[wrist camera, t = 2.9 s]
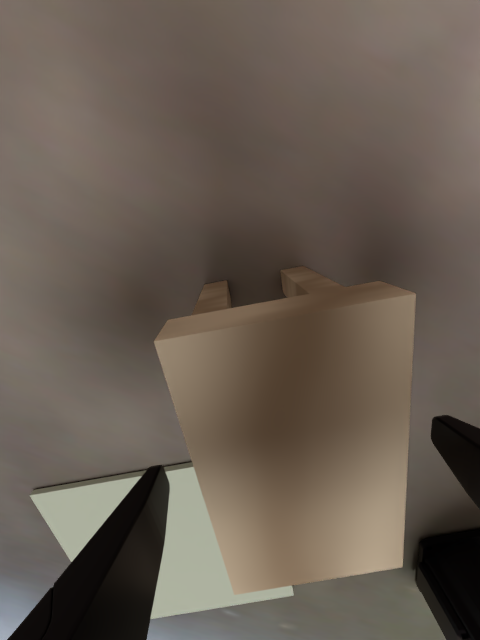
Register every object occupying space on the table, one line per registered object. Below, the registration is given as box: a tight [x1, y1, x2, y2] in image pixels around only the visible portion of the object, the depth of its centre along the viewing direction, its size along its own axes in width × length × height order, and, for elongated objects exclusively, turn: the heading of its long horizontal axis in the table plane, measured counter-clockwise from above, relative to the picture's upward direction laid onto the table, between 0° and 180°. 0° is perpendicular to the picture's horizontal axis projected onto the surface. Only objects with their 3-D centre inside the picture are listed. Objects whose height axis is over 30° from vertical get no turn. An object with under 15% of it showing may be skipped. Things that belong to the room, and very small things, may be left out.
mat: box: [30, 462, 294, 619], centre depth 20 cm, size 16×16×1 cm
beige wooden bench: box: [154, 266, 416, 595], centre depth 11 cm, size 6×10×8 cm, turn 10°
